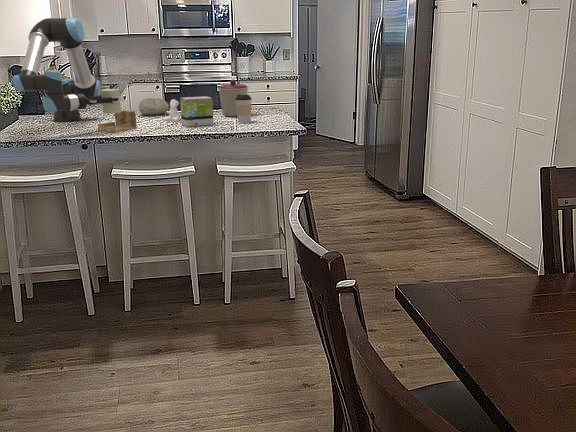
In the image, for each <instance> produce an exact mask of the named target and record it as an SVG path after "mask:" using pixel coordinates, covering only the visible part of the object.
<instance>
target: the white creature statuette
mask: <svg viewBox="0 0 576 432" xmlns="http://www.w3.org/2000/svg"><path fill="white" fill-rule="evenodd" d="M179 105H180V101H177V100H176V99H175V98H174V99H171V100H170V102H169V109H168V113H169V115H167V116H165V117H163V118H162V121H163V122H164V121H166V122H170V121H171V122H172V121H173V122H172V123H178V122H179V121H181V114H180V113H179V109H178V108H177V107H178V106H179Z"/></svg>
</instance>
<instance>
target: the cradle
mask: <svg viewBox="0 0 576 432" xmlns="http://www.w3.org/2000/svg"><path fill="white" fill-rule="evenodd" d="M121 111H122V112H121V113H114V121H109V122H104V123H98V124H97V131H98V132H99V131H100V132H107V133H115V134H116V133H120V132H126V131H132V130H136V129H138V127H137V117H136V111H134V110H126V109H125V110H124V109H121Z"/></svg>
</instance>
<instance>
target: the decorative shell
mask: <svg viewBox="0 0 576 432" xmlns="http://www.w3.org/2000/svg"><path fill="white" fill-rule="evenodd" d="M138 110H139V112H140V113H141V114H143V115H146V116H157V115H163V114H166V113H167V112H169V110H170V104H169V103H168V102H167V101H166V100H164V99H163V98H158V97H157V98H152V97H150V98H144V99H142V100H141V101H140V102H139V104H138Z"/></svg>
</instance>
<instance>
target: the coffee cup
mask: <svg viewBox="0 0 576 432" xmlns="http://www.w3.org/2000/svg"><path fill="white" fill-rule="evenodd" d="M235 100H236V110H237V116H238V117H237V123H238V124H249V123H251V121H252V120H251V119H252V117H251V116H252V96H251V95H250V94H247V95H239V94H238V95H237V97H236V99H235Z"/></svg>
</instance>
